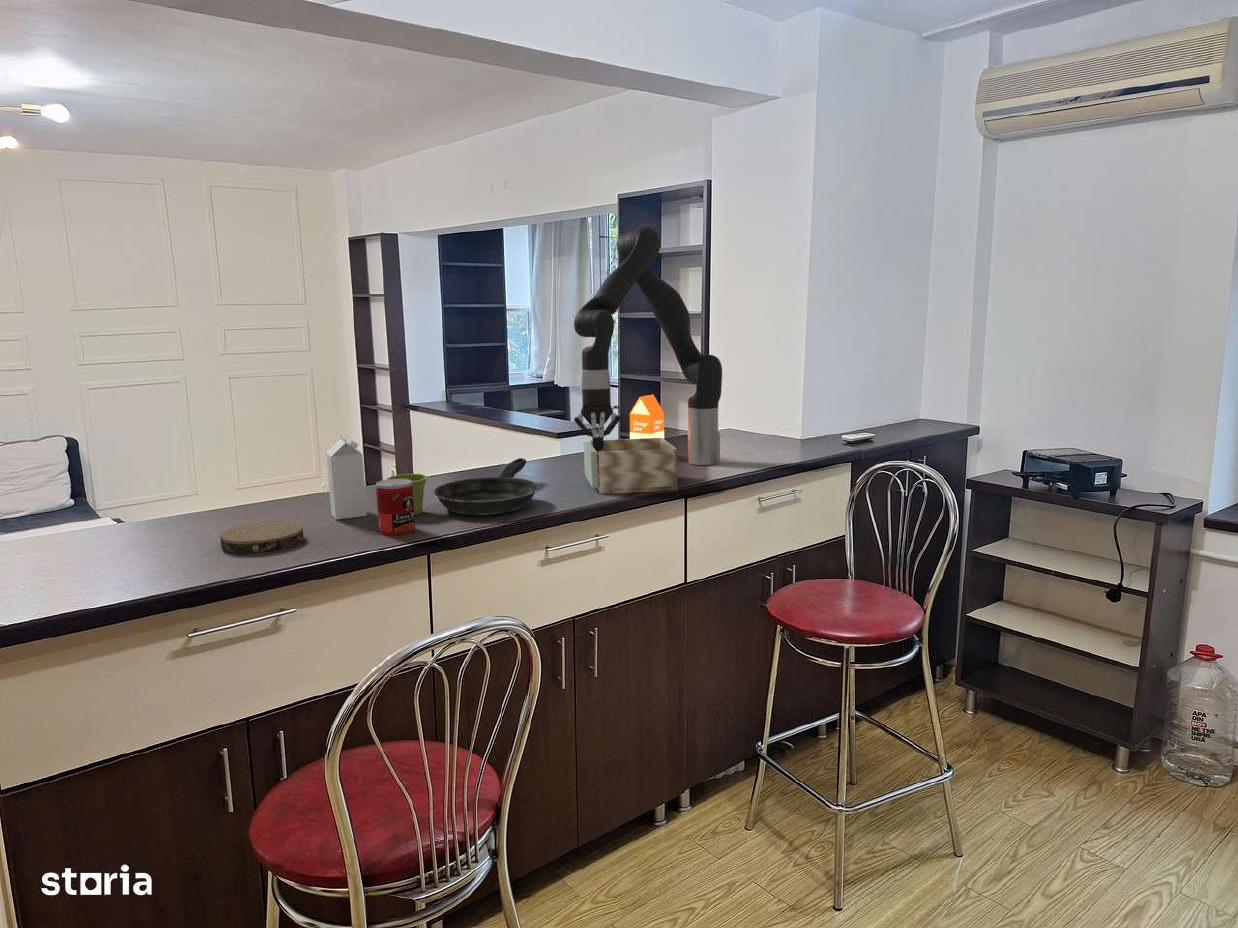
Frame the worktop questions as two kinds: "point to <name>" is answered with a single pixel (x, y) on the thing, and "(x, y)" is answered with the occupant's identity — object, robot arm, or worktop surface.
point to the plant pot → (415, 488)
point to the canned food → (395, 506)
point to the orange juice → (647, 419)
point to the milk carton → (346, 480)
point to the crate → (636, 466)
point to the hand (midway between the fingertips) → (598, 450)
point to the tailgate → (590, 464)
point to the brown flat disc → (261, 537)
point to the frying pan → (488, 493)
